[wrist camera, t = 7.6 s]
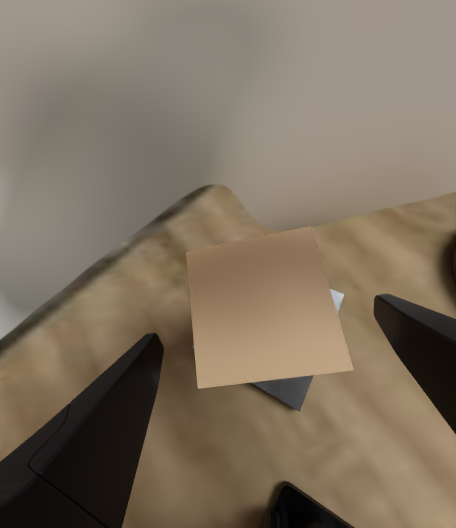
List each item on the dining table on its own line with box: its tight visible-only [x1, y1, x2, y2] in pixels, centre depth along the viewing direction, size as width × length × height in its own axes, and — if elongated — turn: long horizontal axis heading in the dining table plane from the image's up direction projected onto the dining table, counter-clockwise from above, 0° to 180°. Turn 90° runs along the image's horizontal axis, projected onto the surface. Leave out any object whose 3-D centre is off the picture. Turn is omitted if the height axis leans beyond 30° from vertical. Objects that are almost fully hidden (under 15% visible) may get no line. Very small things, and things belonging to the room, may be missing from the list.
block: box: [186, 226, 354, 389], centre depth 13 cm, size 5×9×13 cm, turn 99°
